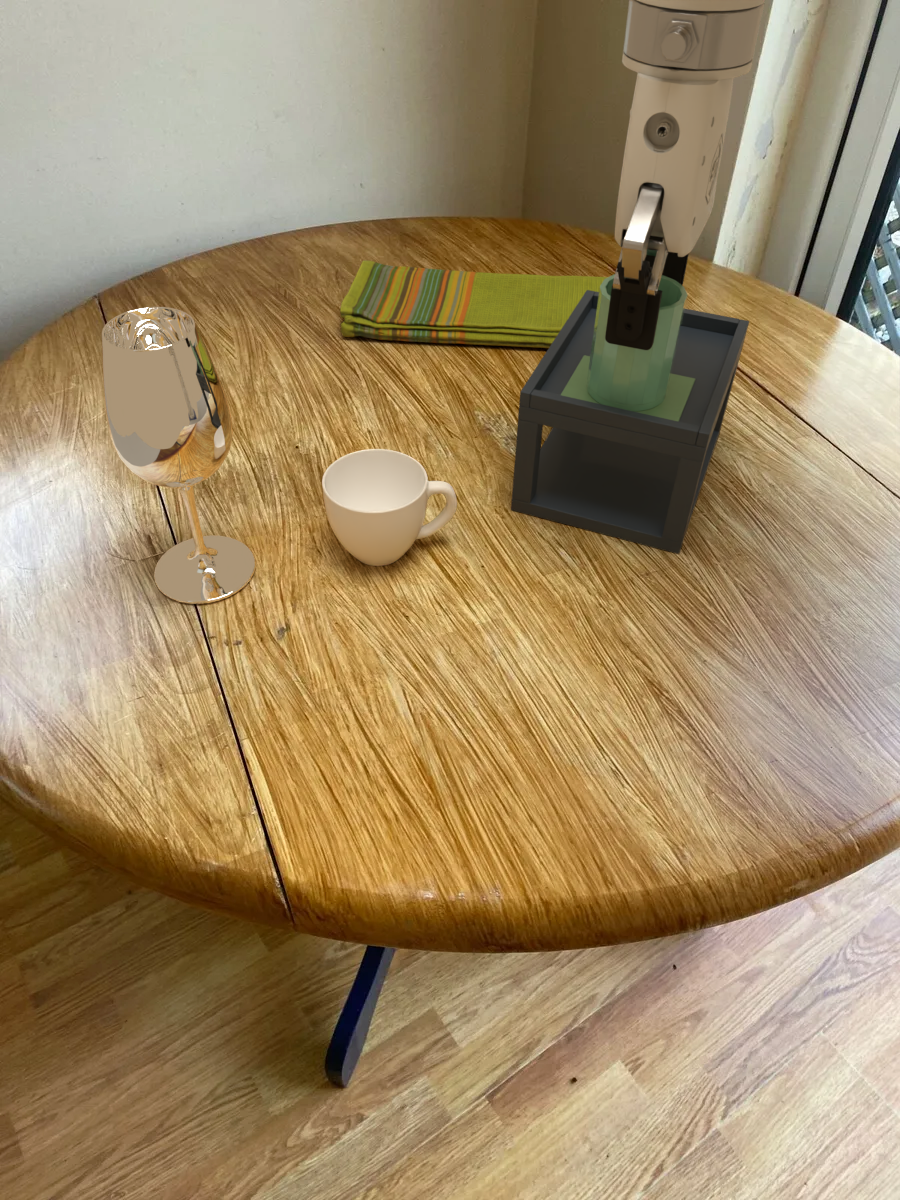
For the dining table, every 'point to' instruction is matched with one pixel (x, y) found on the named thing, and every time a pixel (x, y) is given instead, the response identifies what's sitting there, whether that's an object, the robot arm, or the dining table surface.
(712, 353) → the tray
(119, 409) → the wineglass
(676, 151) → the robot arm
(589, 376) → the tumbler
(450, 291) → the dish towel
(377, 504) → the cup
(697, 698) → the dining table surface
